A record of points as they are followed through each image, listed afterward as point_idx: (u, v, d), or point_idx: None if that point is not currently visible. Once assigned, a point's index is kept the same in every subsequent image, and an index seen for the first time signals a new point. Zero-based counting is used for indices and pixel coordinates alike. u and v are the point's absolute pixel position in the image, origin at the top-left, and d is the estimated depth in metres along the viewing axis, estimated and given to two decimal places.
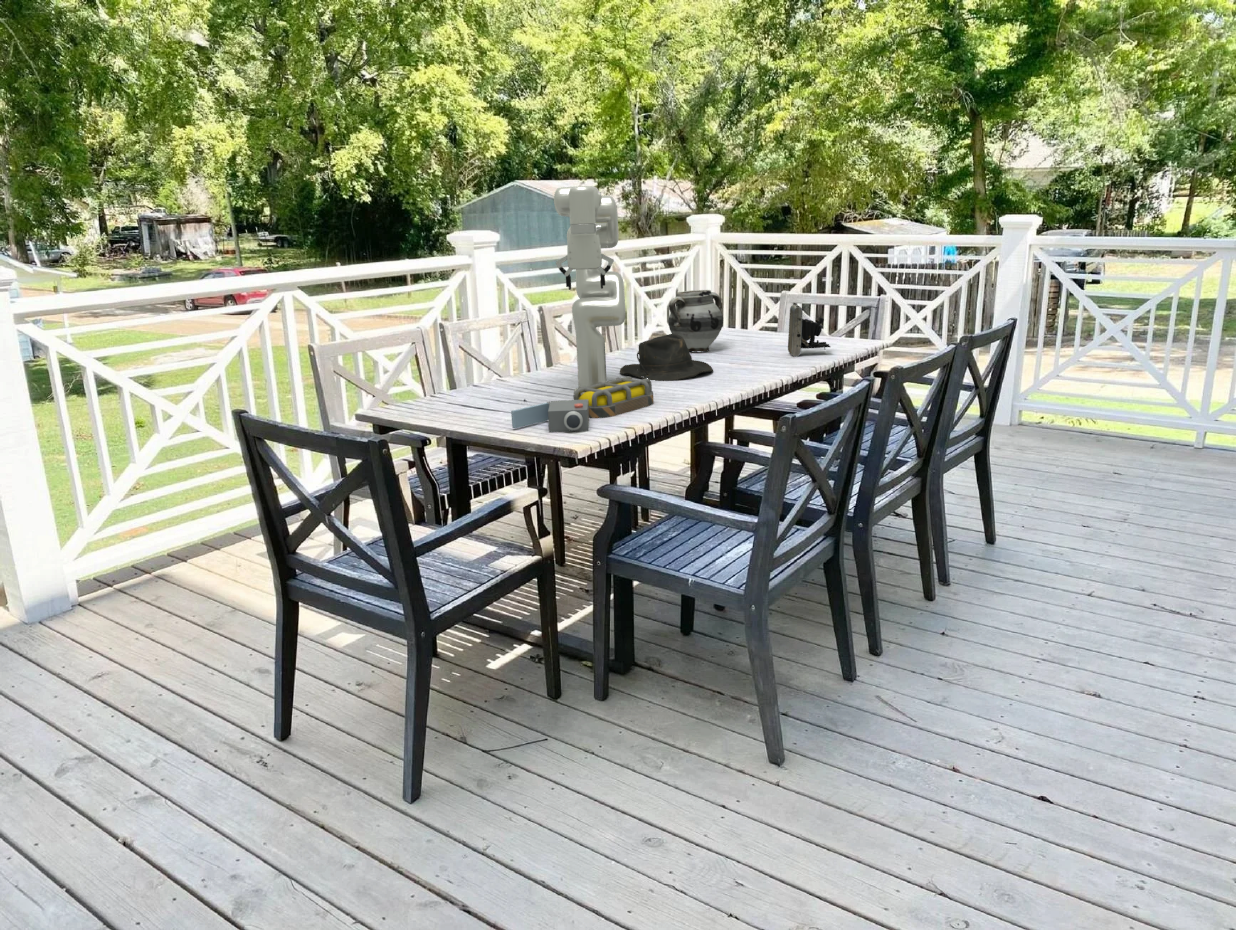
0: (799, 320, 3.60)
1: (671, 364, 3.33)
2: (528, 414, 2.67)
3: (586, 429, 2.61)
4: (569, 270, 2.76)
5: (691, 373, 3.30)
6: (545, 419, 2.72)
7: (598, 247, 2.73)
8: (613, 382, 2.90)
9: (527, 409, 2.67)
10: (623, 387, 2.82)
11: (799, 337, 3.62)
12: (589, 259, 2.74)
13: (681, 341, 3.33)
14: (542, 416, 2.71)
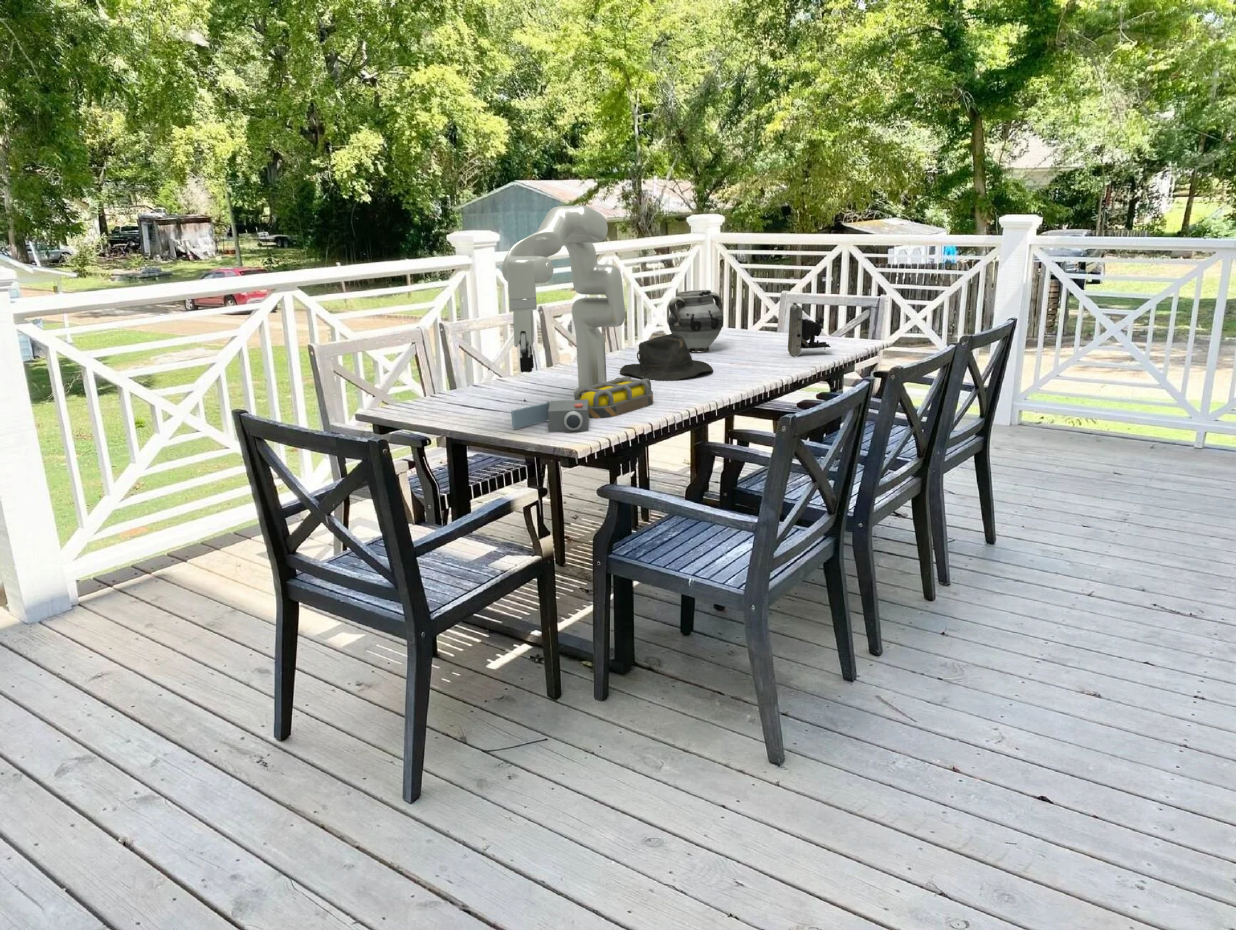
0: (799, 320, 3.60)
1: (670, 364, 3.33)
2: (528, 414, 2.67)
3: (586, 429, 2.61)
4: (529, 350, 2.55)
5: (691, 373, 3.30)
6: (545, 419, 2.72)
7: None
8: (613, 382, 2.90)
9: (527, 409, 2.67)
10: (624, 387, 2.82)
11: (799, 337, 3.62)
12: None
13: (681, 341, 3.33)
14: (542, 416, 2.71)
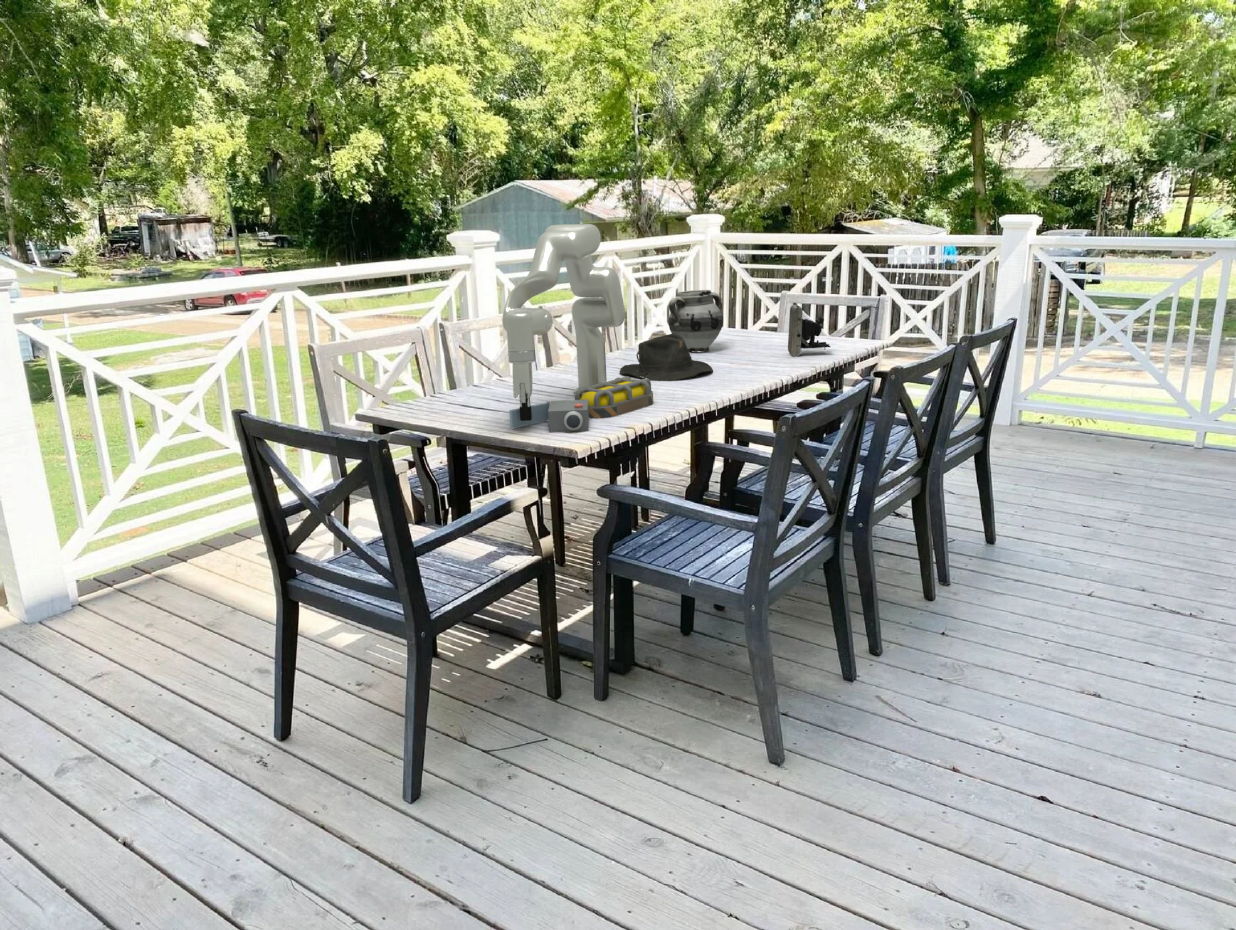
0: (799, 320, 3.60)
1: (670, 364, 3.33)
2: None
3: (586, 429, 2.61)
4: (529, 400, 2.62)
5: (691, 373, 3.30)
6: (545, 419, 2.72)
7: None
8: (613, 382, 2.90)
9: None
10: (624, 387, 2.82)
11: (799, 337, 3.62)
12: (532, 384, 2.64)
13: (681, 341, 3.33)
14: (541, 416, 2.71)
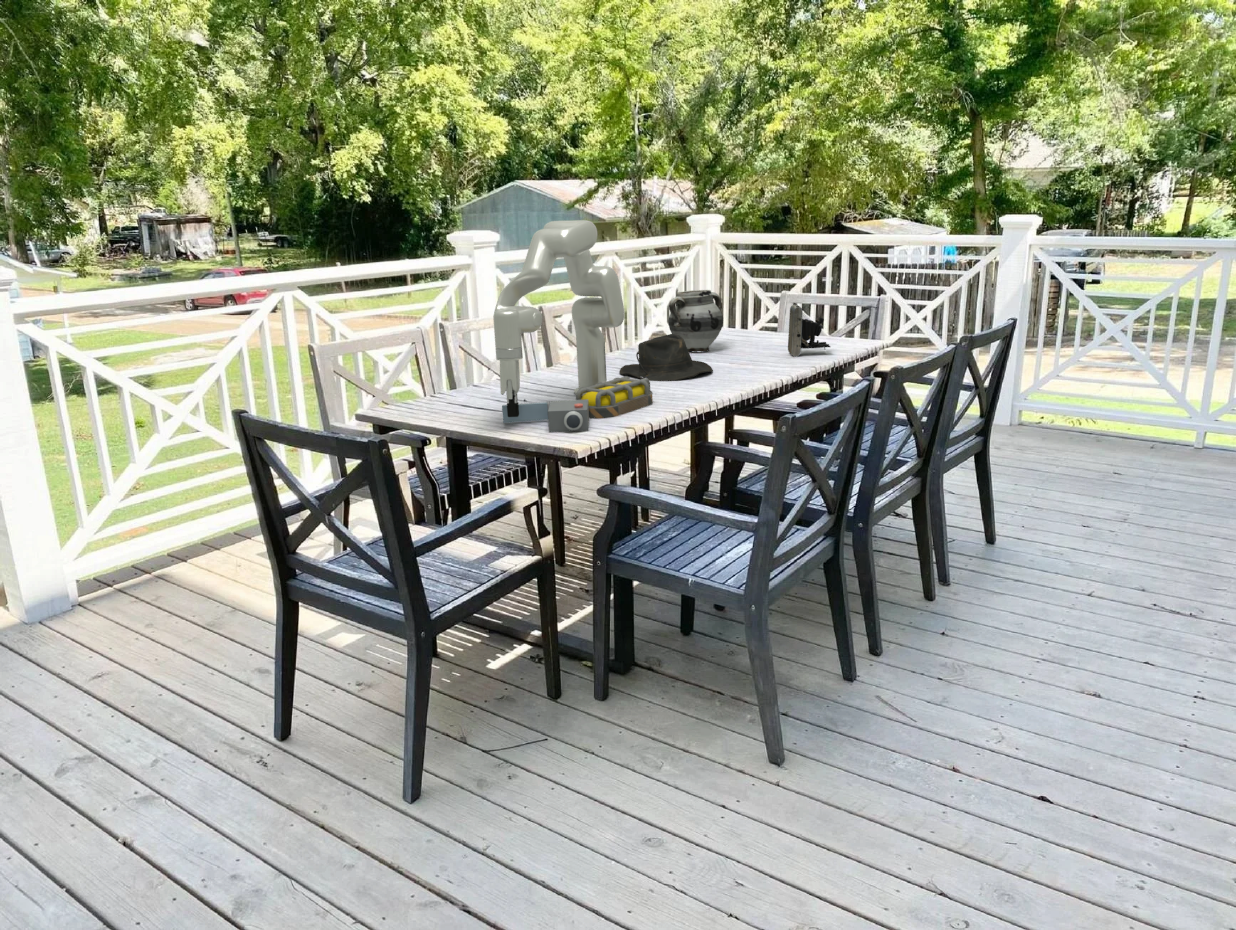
0: (799, 320, 3.60)
1: (670, 364, 3.32)
2: (520, 411, 2.72)
3: (586, 429, 2.61)
4: (516, 396, 2.66)
5: (690, 373, 3.30)
6: (542, 418, 2.73)
7: None
8: (612, 382, 2.90)
9: (519, 406, 2.71)
10: (625, 387, 2.82)
11: (799, 337, 3.62)
12: (519, 381, 2.68)
13: (681, 341, 3.33)
14: (538, 415, 2.73)
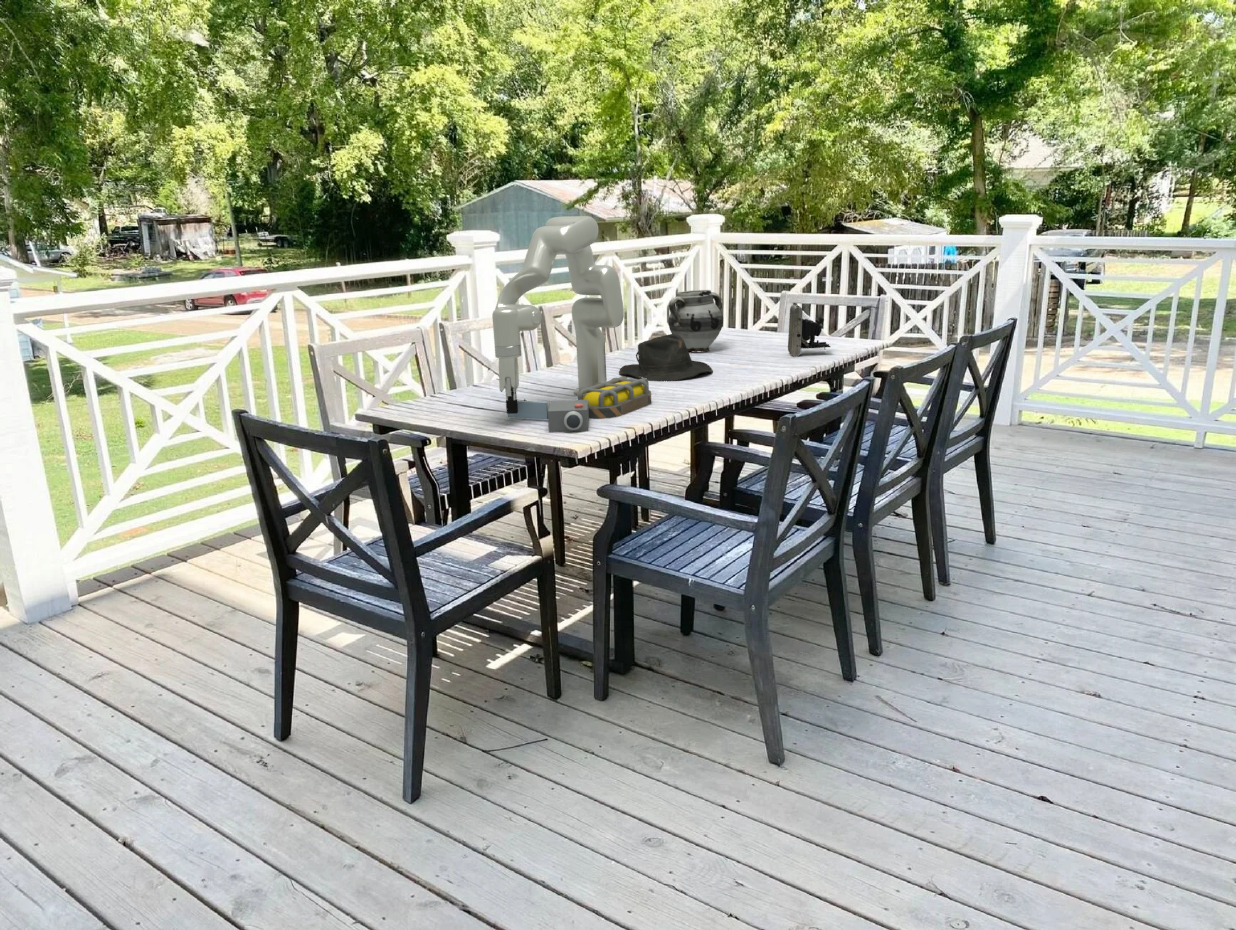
0: (799, 320, 3.60)
1: (670, 364, 3.32)
2: (522, 408, 2.76)
3: (586, 429, 2.61)
4: (515, 393, 2.71)
5: (690, 373, 3.29)
6: (542, 418, 2.74)
7: None
8: (611, 382, 2.90)
9: (521, 403, 2.75)
10: (625, 387, 2.82)
11: (799, 337, 3.62)
12: (518, 378, 2.72)
13: (680, 341, 3.33)
14: (538, 414, 2.74)
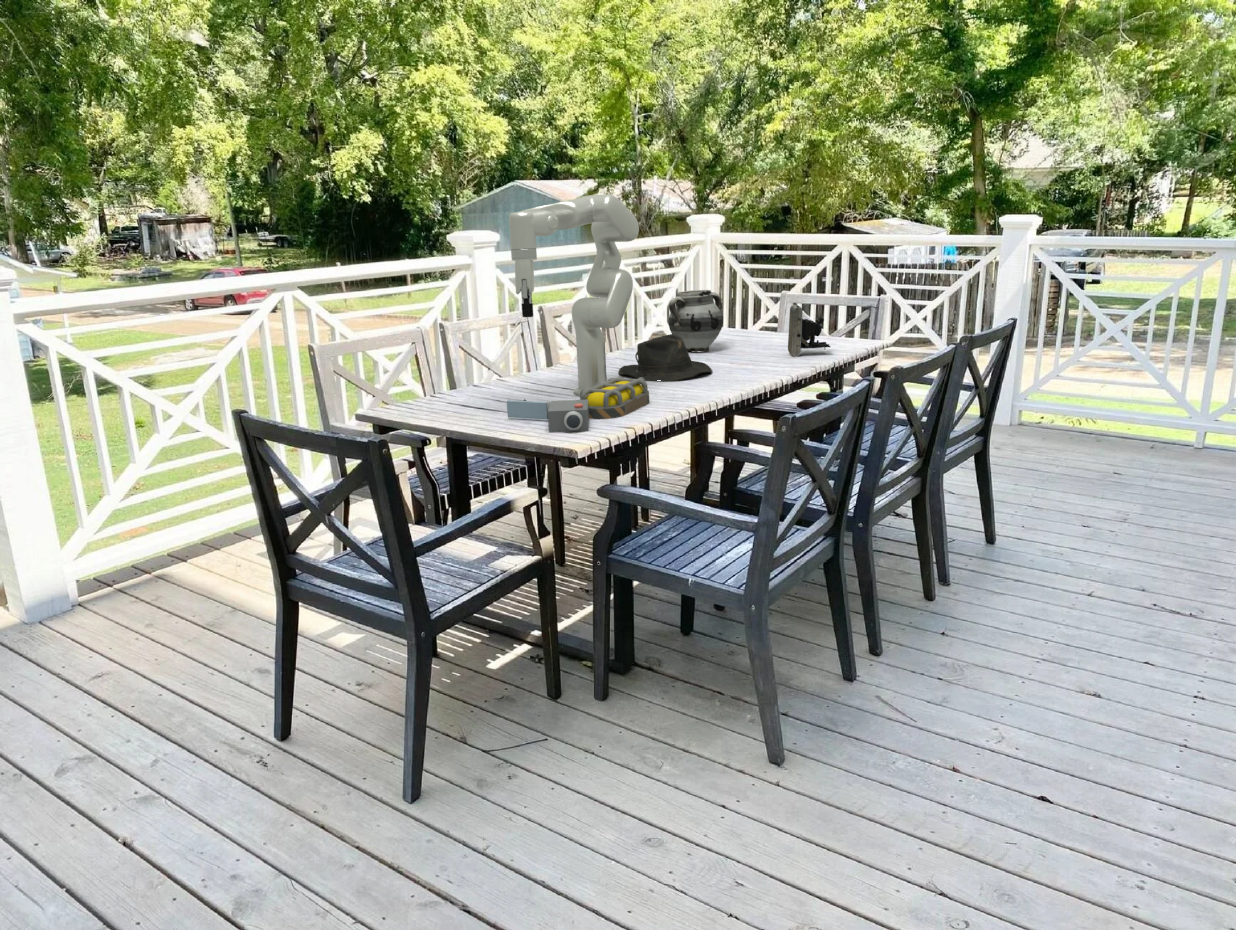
0: (799, 320, 3.60)
1: (669, 365, 3.32)
2: (522, 408, 2.76)
3: (586, 429, 2.61)
4: (530, 297, 2.78)
5: (690, 374, 3.29)
6: (542, 418, 2.74)
7: None
8: (610, 382, 2.90)
9: (521, 403, 2.75)
10: (627, 386, 2.83)
11: (799, 337, 3.62)
12: None
13: (680, 342, 3.32)
14: (538, 414, 2.74)
